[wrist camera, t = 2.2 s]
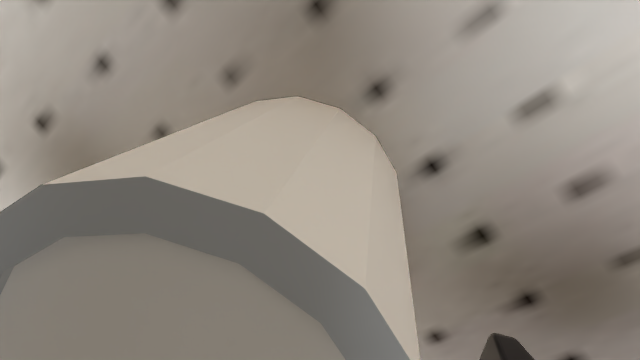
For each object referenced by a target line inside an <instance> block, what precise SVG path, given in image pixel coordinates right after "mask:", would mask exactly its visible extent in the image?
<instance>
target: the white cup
mask: <svg viewBox="0 0 640 360" xmlns="http://www.w3.org/2000/svg"><path fill="white" fill-rule="evenodd" d="M0 360H420V352H419V345H418V337H417V329H416V321H415V313H414V305H413V297H412V290H411V282H410V274H409V266H408V258H407V250H406V242H405V235H404V227H403V219H402V211H401V203H400V195H399V188H398V180H397V173H396V171H395V169H394V167H393V166H392V164H391V162H390V160H389V159H388V157H387V155H386V153H385V152H384V150H383V148H382V146H381V145H380V143H379V141H378V139H377V138H376V136H375V135H374V134H372V133H371V132H370V131H369V130H367V129H366V128H365V127H363V126H362V125H361V124H360V123H358V122H357V121H356V120H354V119H353V118H352V117H351V116H349V115H348V114H347V113H345V112H344V111H343V110H342V109H340V108H337V107H333V106H330V105H327V104H323V103H320V102H316V101H313V100H309V99H306V98H302V97H299V96H295V97H286V98H278V99H269V100H261V101H255V102H252V103H250V104H247V105H245V106H242V107H239V108H237V109H234V110H232V111H229V112H227V113H224V114H221V115H219V116H216V117H214V118H211V119H209V120H206V121H204V122H201V123H198V124H196V125H193V126H191V127H188V128H186V129H183V130H180V131H178V132H175V133H173V134H170V135H168V136H165V137H162V138H160V139H157V140H155V141H152V142H150V143H147V144H145V145H142V146H139V147H137V148H134V149H132V150H129V151H127V152H124V153H121V154H119V155H116V156H114V157H111V158H109V159H106V160H103V161H101V162H98V163H96V164H93V165H91V166H88V167H86V168H83V169H80V170H78V171H75V172H73V173H70V174H68V175H65V176H62V177H60V178H57V179H55V180H52V181H50V182H47V183H44V184H42V185H40V186H39V187H37V188H36V189H34V190H33V191H31V192H30V193H28V194H27V195H25V196H24V197H22V198H21V199H19V200H18V201H16V202H15V203H13V204H12V205H10V206H9V207H7V208H5V209H4V210H2V211H1V212H0Z"/></svg>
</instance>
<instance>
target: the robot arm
mask: <svg viewBox="0 0 640 360" xmlns="http://www.w3.org/2000/svg"><path fill="white" fill-rule="evenodd" d="M480 360H534V358H533V357H532V356H531V355H530V354H529V353H528V352H527V350H526V349H525V348H524V347H523V346H522V345H521V344H520V342H519V341H518V340H516V339H515V338H513V337H509V336H505V335H501V334H497V333H493V334H491V335H490V337H489V338H488V340H487V343H486V345H485V348H484V350H483V353H482V355H481V358H480Z"/></svg>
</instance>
